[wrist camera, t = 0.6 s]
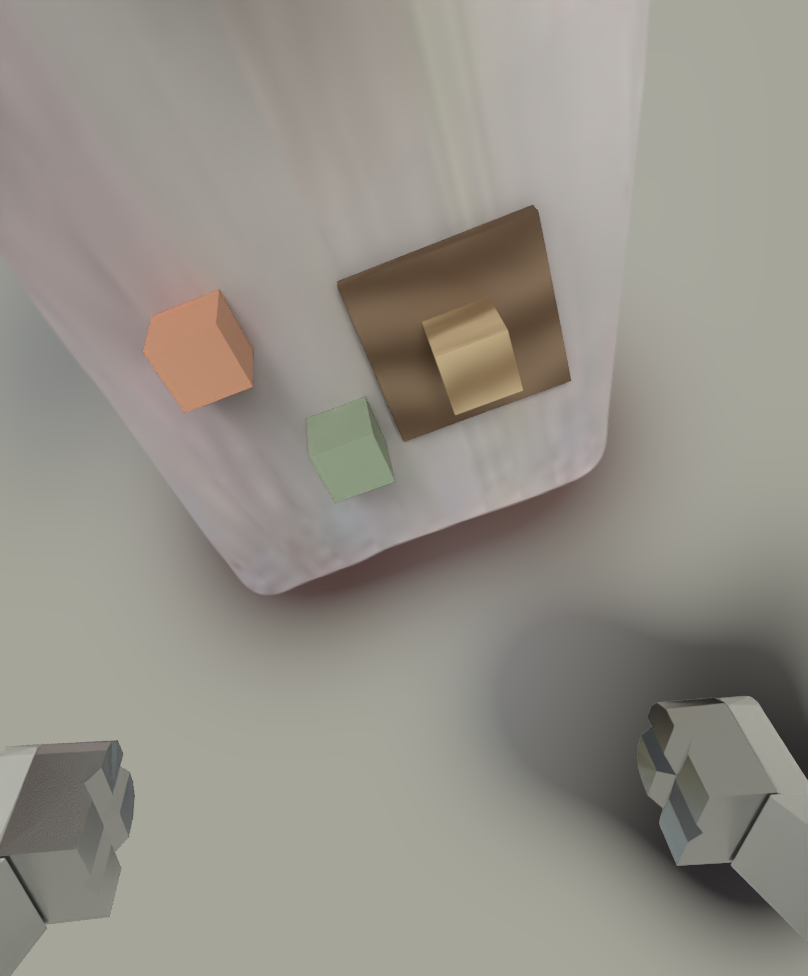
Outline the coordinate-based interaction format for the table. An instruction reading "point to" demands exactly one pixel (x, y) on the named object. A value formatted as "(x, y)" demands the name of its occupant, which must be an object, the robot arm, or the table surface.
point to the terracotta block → (200, 351)
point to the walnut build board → (445, 289)
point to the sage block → (349, 450)
